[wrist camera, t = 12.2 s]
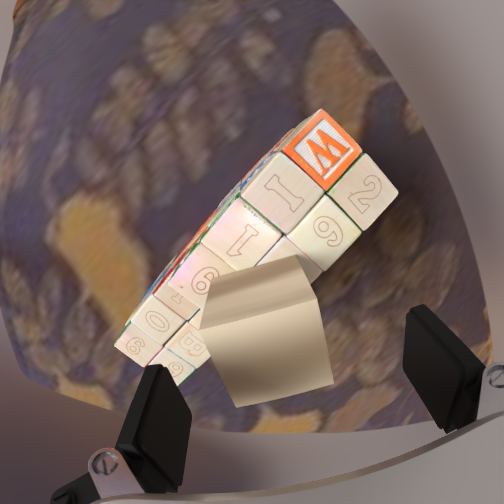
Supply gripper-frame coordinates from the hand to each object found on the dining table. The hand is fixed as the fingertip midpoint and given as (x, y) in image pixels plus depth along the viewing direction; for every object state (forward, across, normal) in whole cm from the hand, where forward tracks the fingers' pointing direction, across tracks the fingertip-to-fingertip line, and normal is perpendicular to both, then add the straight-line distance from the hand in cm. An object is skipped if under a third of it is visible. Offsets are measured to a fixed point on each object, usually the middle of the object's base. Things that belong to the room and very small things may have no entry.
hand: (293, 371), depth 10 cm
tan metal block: (+6, +1, 0) cm, 6 cm away
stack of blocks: (+18, +3, 0) cm, 19 cm away
